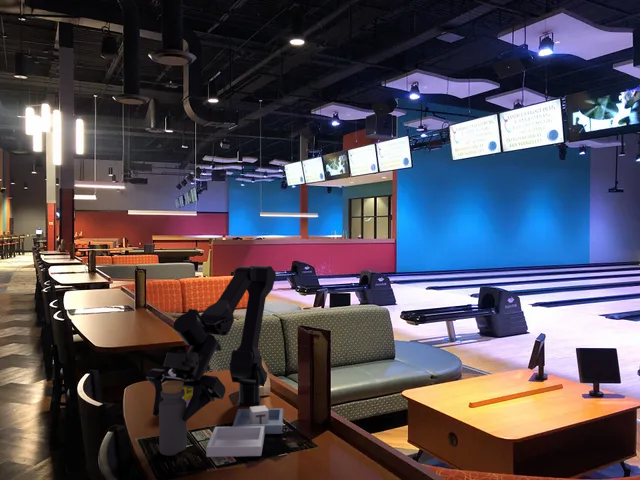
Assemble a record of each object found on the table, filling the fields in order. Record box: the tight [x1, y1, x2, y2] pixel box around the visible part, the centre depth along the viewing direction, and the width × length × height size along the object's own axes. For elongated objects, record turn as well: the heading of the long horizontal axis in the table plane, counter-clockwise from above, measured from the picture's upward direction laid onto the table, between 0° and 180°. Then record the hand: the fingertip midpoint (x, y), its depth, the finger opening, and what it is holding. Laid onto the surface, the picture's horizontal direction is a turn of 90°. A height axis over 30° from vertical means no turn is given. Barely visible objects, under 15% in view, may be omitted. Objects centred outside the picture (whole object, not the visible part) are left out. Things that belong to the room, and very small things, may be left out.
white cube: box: [249, 404, 269, 424], centre depth 130 cm, size 4×4×4 cm
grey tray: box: [205, 426, 266, 458], centre depth 117 cm, size 12×12×2 cm
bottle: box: [158, 380, 188, 456], centre depth 116 cm, size 6×6×15 cm
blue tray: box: [232, 407, 284, 435], centre depth 130 cm, size 12×12×2 cm
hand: (168, 418), depth 114 cm, fingers open, 8 cm apart
